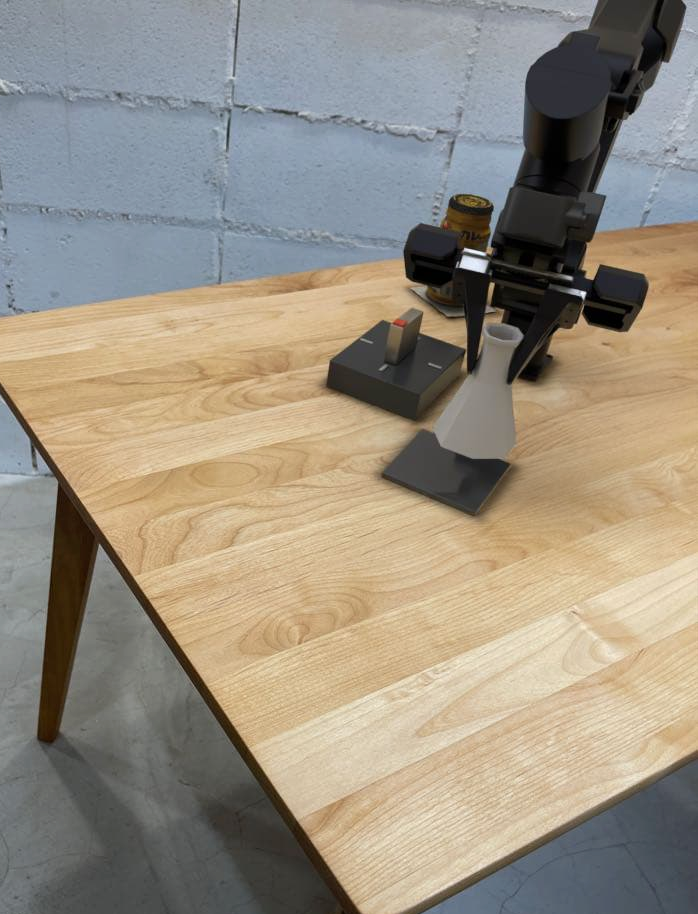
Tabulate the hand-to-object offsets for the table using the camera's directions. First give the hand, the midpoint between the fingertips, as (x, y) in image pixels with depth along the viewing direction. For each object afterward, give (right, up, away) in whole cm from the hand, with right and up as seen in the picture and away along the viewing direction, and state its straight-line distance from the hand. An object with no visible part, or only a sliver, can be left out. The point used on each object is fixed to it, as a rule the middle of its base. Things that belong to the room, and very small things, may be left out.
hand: (488, 378), depth 67 cm
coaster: (-2, -7, +9) cm, 11 cm away
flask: (0, -4, +5) cm, 7 cm away
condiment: (+4, +17, +38) cm, 42 cm away
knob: (-5, +6, +19) cm, 20 cm away
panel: (-5, +4, +21) cm, 22 cm away
